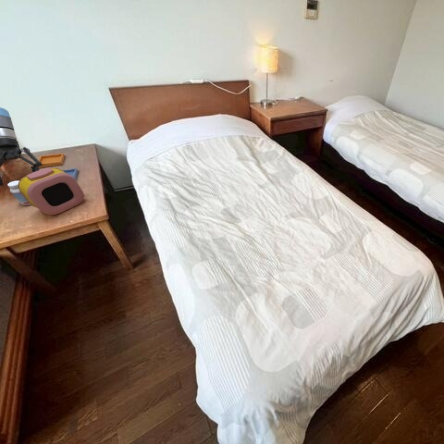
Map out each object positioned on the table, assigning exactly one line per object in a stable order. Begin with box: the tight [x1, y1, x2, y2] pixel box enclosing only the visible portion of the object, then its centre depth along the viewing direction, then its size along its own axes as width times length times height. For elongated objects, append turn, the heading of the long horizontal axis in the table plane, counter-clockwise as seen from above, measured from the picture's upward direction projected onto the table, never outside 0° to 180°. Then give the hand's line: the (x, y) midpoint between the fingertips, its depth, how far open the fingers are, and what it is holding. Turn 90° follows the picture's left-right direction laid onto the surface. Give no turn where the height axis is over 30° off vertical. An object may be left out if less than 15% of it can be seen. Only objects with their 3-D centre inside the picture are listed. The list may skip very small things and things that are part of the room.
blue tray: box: [62, 167, 79, 181], centre depth 139 cm, size 11×11×2 cm
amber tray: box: [38, 152, 66, 169], centre depth 150 cm, size 11×11×2 cm
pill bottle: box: [7, 180, 31, 206], centre depth 120 cm, size 6×6×11 cm
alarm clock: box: [18, 167, 85, 216], centre depth 117 cm, size 18×11×19 cm, turn 151°
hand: (19, 182), depth 119 cm, fingers open, 13 cm apart
